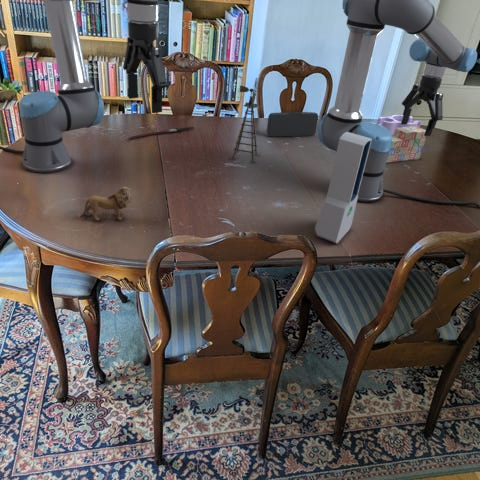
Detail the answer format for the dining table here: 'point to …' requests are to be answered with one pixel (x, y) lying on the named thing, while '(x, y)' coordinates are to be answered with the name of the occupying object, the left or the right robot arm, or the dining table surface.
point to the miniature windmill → (250, 106)
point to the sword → (162, 132)
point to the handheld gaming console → (292, 124)
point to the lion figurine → (109, 203)
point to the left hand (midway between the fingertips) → (144, 104)
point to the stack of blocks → (406, 144)
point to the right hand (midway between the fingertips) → (415, 129)
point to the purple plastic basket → (396, 122)
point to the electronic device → (343, 187)
